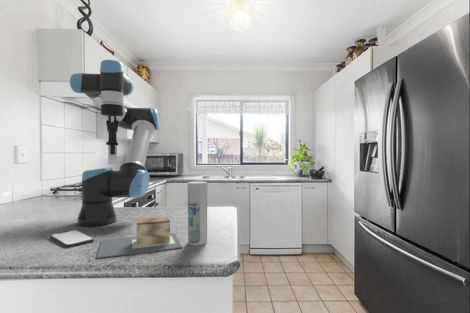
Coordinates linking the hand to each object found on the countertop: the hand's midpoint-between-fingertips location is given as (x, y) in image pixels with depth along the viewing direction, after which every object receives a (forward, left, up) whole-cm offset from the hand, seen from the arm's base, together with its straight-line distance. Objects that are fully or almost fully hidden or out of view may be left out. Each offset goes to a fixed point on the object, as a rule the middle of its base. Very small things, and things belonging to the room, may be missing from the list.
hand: (112, 163), depth 100 cm
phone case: (+2, -13, -27) cm, 30 cm away
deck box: (+16, +13, -26) cm, 33 cm away
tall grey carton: (+20, +27, -26) cm, 43 cm away
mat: (+16, +9, -26) cm, 32 cm away
